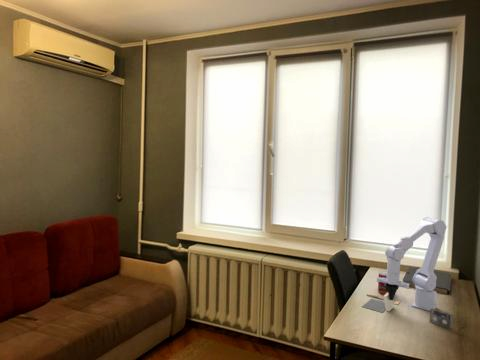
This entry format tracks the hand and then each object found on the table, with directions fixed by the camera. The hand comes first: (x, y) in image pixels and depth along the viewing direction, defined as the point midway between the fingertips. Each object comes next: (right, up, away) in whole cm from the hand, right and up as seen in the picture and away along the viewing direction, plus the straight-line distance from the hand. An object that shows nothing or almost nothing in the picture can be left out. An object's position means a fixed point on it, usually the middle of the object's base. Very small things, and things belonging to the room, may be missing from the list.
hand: (391, 299), depth 179 cm
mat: (-5, -5, +5) cm, 8 cm away
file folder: (+39, -4, +43) cm, 58 cm away
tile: (0, -5, +1) cm, 5 cm away
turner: (+1, -4, +12) cm, 13 cm away
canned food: (+6, -4, +23) cm, 24 cm away
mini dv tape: (+15, -7, -15) cm, 22 cm away
